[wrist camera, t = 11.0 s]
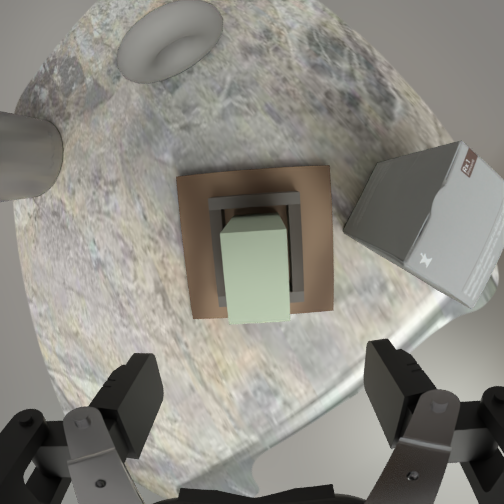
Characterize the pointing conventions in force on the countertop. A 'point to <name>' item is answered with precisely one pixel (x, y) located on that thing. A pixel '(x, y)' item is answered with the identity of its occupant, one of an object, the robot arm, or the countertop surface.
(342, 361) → the countertop surface
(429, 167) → the skincare box
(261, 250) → the keyed peg
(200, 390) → the countertop surface
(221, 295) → the keyed socket board
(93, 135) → the countertop surface
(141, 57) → the donut
